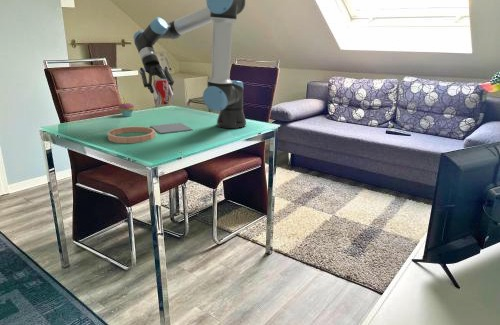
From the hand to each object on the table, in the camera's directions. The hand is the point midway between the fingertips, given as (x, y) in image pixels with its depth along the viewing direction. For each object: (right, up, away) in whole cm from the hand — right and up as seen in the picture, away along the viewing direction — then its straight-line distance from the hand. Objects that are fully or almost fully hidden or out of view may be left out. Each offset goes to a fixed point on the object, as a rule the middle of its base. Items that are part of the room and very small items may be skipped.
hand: (164, 97), depth 177 cm
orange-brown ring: (-13, -19, -6) cm, 24 cm away
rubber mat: (+1, -14, +11) cm, 17 cm away
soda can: (-2, -3, +4) cm, 6 cm away
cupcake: (-30, -4, +38) cm, 48 cm away
